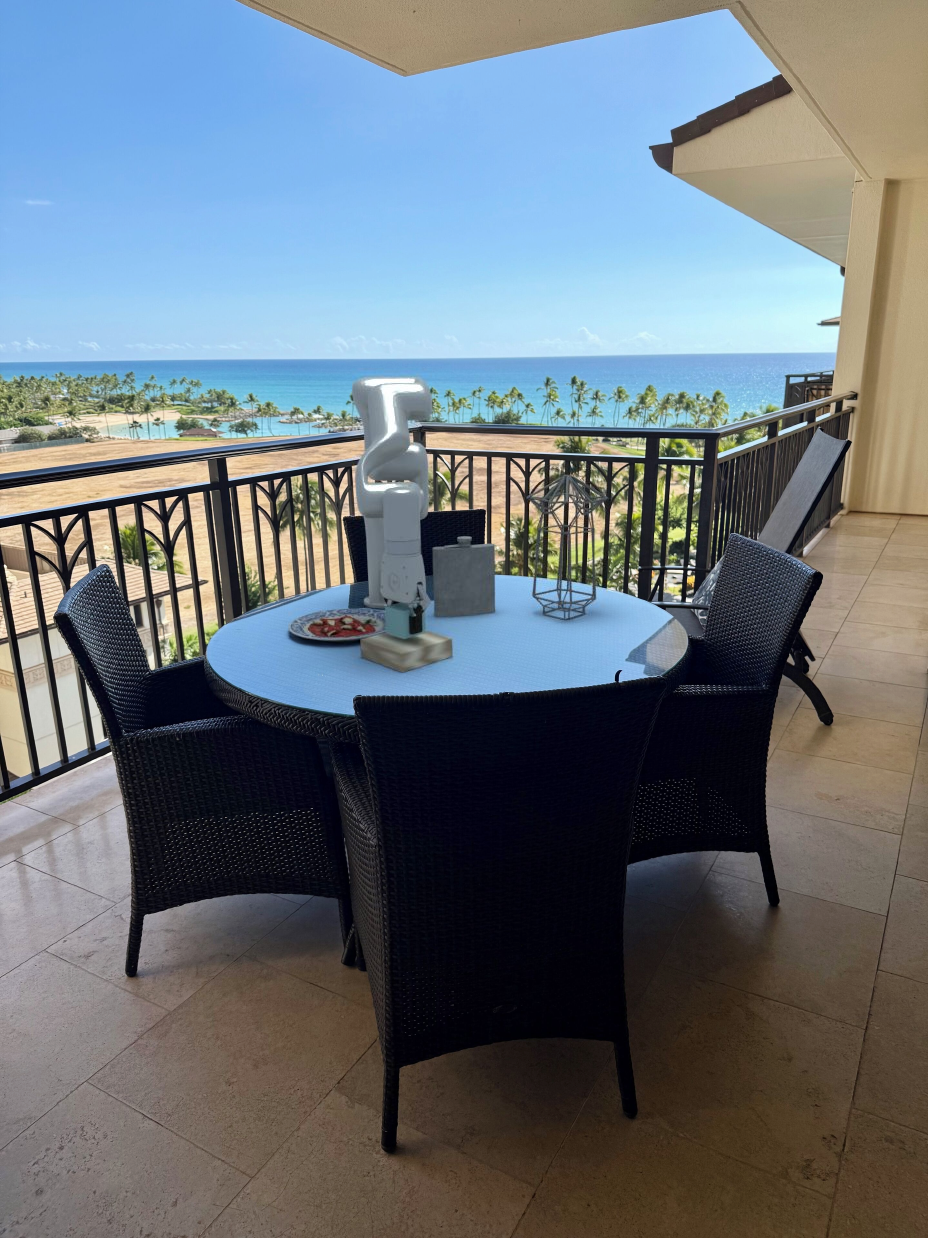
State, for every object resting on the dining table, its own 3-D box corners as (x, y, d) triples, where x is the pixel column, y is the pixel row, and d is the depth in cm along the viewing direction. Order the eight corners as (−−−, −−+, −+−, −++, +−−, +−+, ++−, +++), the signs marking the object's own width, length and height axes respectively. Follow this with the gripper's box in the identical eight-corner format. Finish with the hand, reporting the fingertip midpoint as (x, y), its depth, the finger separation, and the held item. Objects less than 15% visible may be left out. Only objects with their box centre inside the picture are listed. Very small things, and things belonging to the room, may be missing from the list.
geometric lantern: (520, 614, 206) (522, 475, 197) (562, 604, 216) (565, 471, 207) (567, 626, 195) (571, 478, 186) (608, 614, 205) (614, 474, 196)
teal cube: (407, 627, 178) (406, 601, 176) (425, 632, 174) (424, 605, 172) (386, 633, 174) (384, 606, 172) (404, 639, 170) (403, 611, 168)
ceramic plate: (293, 653, 179) (292, 640, 178) (285, 622, 203) (284, 610, 202) (407, 642, 186) (406, 629, 185) (386, 613, 210) (386, 602, 209)
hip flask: (493, 609, 210) (492, 533, 205) (497, 613, 207) (497, 536, 201) (433, 614, 207) (431, 537, 201) (436, 618, 203) (434, 540, 197)
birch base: (410, 642, 185) (410, 625, 183) (452, 656, 175) (452, 638, 174) (361, 657, 175) (360, 639, 174) (402, 672, 166) (401, 653, 164)
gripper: (363, 544, 172) (367, 625, 177) (416, 555, 160) (418, 642, 165) (390, 539, 177) (394, 618, 182) (444, 550, 165) (446, 634, 170)
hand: (405, 629), depth 173 cm, fingers closed on teal cube, 6 cm apart
